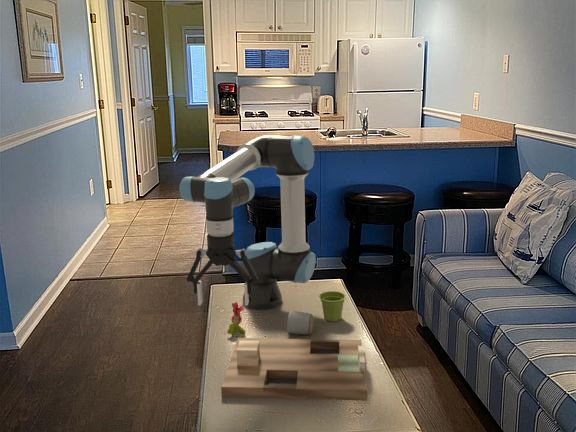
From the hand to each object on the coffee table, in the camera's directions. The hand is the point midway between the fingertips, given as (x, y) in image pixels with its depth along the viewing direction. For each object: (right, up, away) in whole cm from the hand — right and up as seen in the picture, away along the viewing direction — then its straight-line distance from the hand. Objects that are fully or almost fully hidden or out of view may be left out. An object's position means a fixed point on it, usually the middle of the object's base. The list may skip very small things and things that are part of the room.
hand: (223, 303), depth 161 cm
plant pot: (+35, -12, +39) cm, 53 cm away
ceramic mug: (+23, -14, +29) cm, 40 cm away
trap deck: (+21, -20, +4) cm, 30 cm away
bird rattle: (+1, -14, +30) cm, 33 cm away
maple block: (+7, -18, +4) cm, 19 cm away
